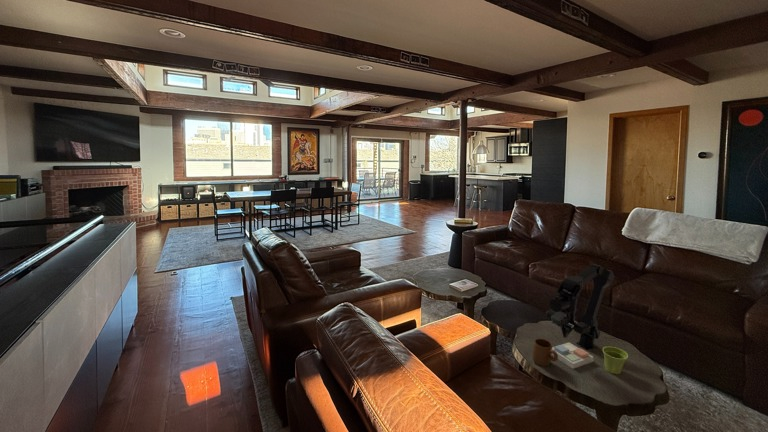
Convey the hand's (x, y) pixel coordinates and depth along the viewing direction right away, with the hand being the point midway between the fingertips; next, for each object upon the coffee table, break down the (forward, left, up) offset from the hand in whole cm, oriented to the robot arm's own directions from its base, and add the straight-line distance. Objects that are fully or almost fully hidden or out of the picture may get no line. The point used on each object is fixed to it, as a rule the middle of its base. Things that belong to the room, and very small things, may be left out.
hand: (565, 337), depth 167 cm
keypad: (-3, +2, -10) cm, 11 cm away
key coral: (-6, +5, -8) cm, 11 cm away
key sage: (0, +5, -9) cm, 10 cm away
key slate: (0, -1, -8) cm, 8 cm away
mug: (+12, +1, -10) cm, 16 cm away
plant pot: (-12, +16, -10) cm, 22 cm away
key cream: (-6, -1, -9) cm, 11 cm away
